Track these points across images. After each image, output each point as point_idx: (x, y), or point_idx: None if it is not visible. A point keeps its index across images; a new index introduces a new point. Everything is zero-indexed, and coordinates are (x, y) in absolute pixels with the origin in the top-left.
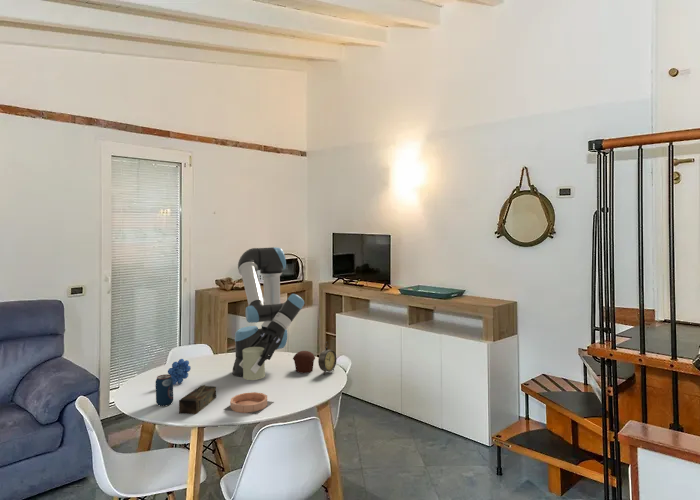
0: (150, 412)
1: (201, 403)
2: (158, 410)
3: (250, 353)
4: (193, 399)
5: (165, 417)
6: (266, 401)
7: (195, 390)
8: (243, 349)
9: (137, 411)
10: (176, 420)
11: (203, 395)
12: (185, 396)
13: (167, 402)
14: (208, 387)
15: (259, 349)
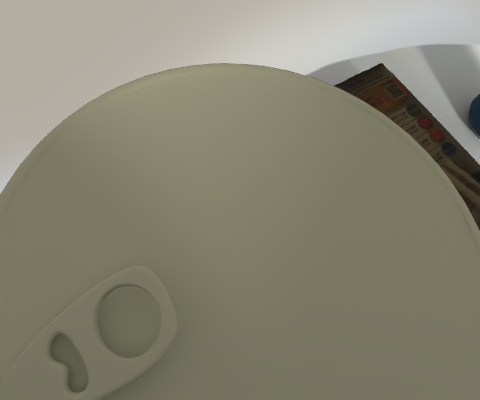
0: (436, 67)
1: None
2: (439, 86)
3: (122, 100)
4: (347, 91)
5: (362, 69)
6: None
7: (463, 159)
8: (409, 143)
9: (469, 53)
10: (312, 74)
11: None
12: (404, 91)
13: (472, 111)
14: (476, 223)
15: (73, 312)
